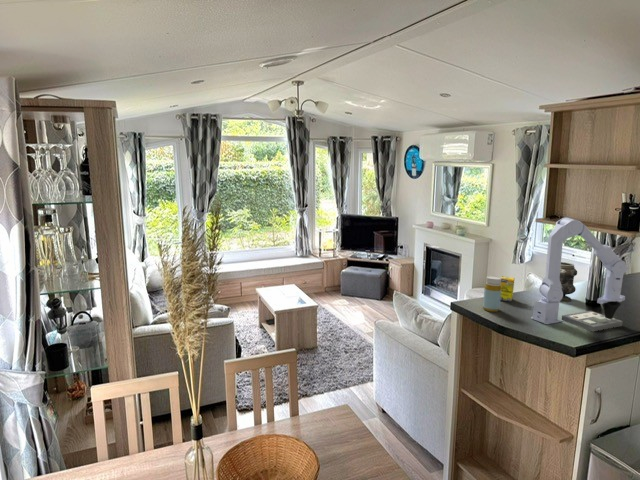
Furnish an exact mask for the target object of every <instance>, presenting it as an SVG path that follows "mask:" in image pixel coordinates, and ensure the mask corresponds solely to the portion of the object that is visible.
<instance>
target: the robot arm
mask: <svg viewBox="0 0 640 480" xmlns="http://www.w3.org/2000/svg"><path fill="white" fill-rule="evenodd" d="M576 236H579V237H581V238H582V239H583V240H584V241H585V242H586V243H587V244H588V245H589V246H590V247H591V248H592V249H593V250H594V252H593V254H594V255H595V256H596V258H598V259H599V260H600V261H601V262H602V264H604V266H603V267H604V268H605V269H607V270H606V274H605V275H606V276H605V283H604V289H603V295H602V296H601V297H598V298H597V301H596V303H597V304H600V305H602V308H603V313H604V315H605V318H608V319H612V318H614V316H615V314H616V311H617V310H618V309H619V307H621V302H623V301H625V300H626V296H625V295H622V294H621V293H622V286H623V280H624V279H623V278H624V274H625V273H627V271H628V269H629V268H628V266H627V263H626V262H625V261H624V260H622V259H620V255H618V254H616V253H615V252H614V250H612V249H613V247H612V246H610V245H607V244H602V243H601V241H599V239H597V237H596V236H595V234H593V232H592V231H591V230H590V229H589V228H588V227H587V225H585V224H583V222H582V221H580V220H579V219H573V218H571V217H562V218H560V219H559V220H557V221H556V222H555V225H554V227H553V229H552V230H551V231H550V233H549V235H548V239H547V240H548V241H547V250H546V251H547V254H546V262H545V264H546V266H545V276H544V277H543V278H542V280H541V284H540V285H539V288H538V289H539V293H540V294H541V296H540V299H539V300H538V301H536V302H535V303H534V305H533V314H532V316H531V317H530V318H531V320H535V321H537V322H540V323H542V324H545V325H550V324H556V323H562V322H563V320H562V319H559V318H558V316H559V310H560V309H559V307H560V302H561V301H560V300H561V299H562V297H563V292H562V289H561V282H560V267H561V262H562V255H563V243H564V242H565V241H567V240H568V239H570V238H572V237H576Z"/></svg>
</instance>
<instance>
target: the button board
mask: <svg viewBox="0 0 640 480" xmlns="http://www.w3.org/2000/svg"><path fill="white" fill-rule="evenodd" d="M592 316H601V317H605V314H601V313H599V312H596V311H593V310H588V311H587V310H586V311H581V312H575V313H574V312H573V313H568V314H564V315H561V320H562V322H566V323H569V324H571V325H574V326H577V327H580V328H582V329H585V330H587V331H591V332H597V331H598V330H599V331H603V329H604V330H607V329H608V328H609V329H613V327H614V328H617V327H622V326H623V320H620V319H616V318H614V319H615V321H608V320H606V322H604V323H599V322H596V321H593V320H592ZM583 320H591V321H593V322H596V324H593V325H589V324H586V323H584V322H582V321H583ZM609 329H608V330H609Z"/></svg>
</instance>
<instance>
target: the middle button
mask: <svg viewBox="0 0 640 480" xmlns="http://www.w3.org/2000/svg"><path fill="white" fill-rule="evenodd" d="M592 320H593V321H596V322H599V323H604V322H606V318H604V317H601V316H592Z"/></svg>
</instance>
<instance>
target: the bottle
mask: <svg viewBox="0 0 640 480" xmlns="http://www.w3.org/2000/svg"><path fill="white" fill-rule="evenodd" d="M500 298H501V277H500V276H498V275H495V276H494V275H487V276H486V282H485V285H484V292H483V301H482V308H483V310H484V311H486V312H491V313H496V312H499V311H500V307H501V300H500Z"/></svg>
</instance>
